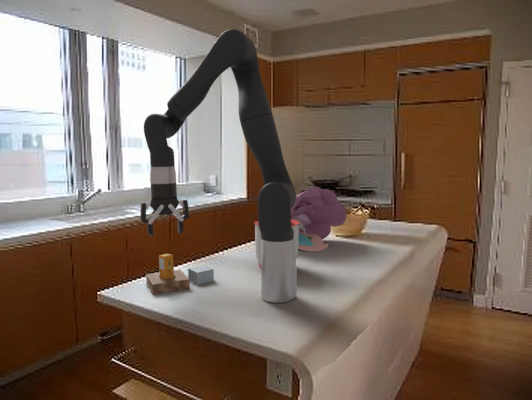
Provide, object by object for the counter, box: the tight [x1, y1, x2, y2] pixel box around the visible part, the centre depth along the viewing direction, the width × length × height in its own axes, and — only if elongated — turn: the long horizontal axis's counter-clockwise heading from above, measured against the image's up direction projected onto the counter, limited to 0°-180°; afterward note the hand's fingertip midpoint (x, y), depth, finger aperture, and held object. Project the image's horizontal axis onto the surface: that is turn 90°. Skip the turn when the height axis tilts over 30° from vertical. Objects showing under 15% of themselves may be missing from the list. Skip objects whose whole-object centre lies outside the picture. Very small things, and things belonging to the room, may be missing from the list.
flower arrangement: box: [291, 186, 348, 252], centre depth 175 cm, size 35×24×28 cm
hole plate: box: [145, 269, 191, 295], centre depth 126 cm, size 11×11×3 cm
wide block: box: [187, 264, 215, 285], centre depth 131 cm, size 6×6×4 cm
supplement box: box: [158, 253, 175, 280], centre depth 125 cm, size 3×3×10 cm
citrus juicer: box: [253, 219, 299, 270], centre depth 142 cm, size 16×17×20 cm
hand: (166, 234), depth 124 cm, fingers open, 8 cm apart
